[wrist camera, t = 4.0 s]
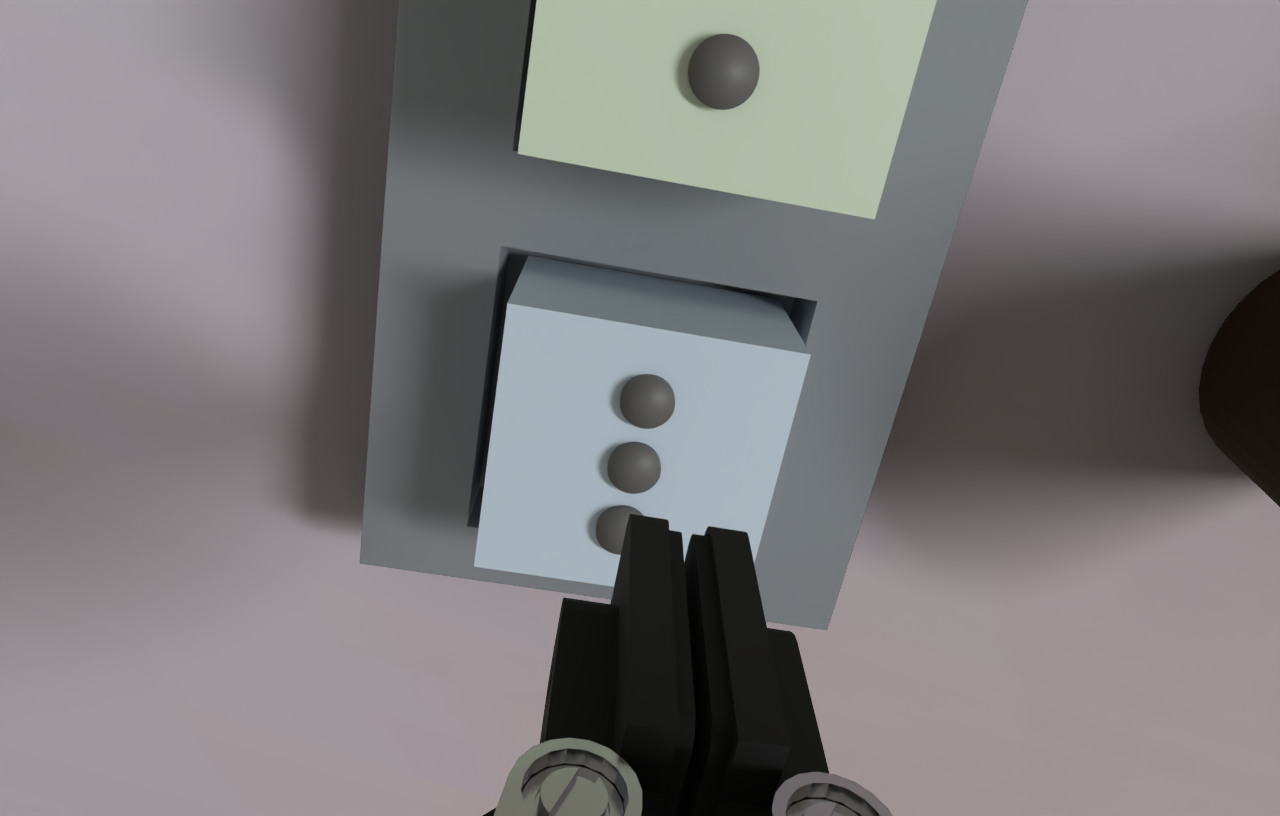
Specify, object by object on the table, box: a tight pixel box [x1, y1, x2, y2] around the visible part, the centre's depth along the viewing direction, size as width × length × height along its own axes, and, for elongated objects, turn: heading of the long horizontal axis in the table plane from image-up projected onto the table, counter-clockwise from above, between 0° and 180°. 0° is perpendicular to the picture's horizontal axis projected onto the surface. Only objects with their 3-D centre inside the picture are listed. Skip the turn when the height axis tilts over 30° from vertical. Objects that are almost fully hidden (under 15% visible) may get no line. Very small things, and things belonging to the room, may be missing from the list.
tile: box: [474, 256, 811, 587], centre depth 20 cm, size 6×6×4 cm
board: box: [360, 0, 1028, 630], centre depth 18 cm, size 28×12×2 cm, turn 170°
